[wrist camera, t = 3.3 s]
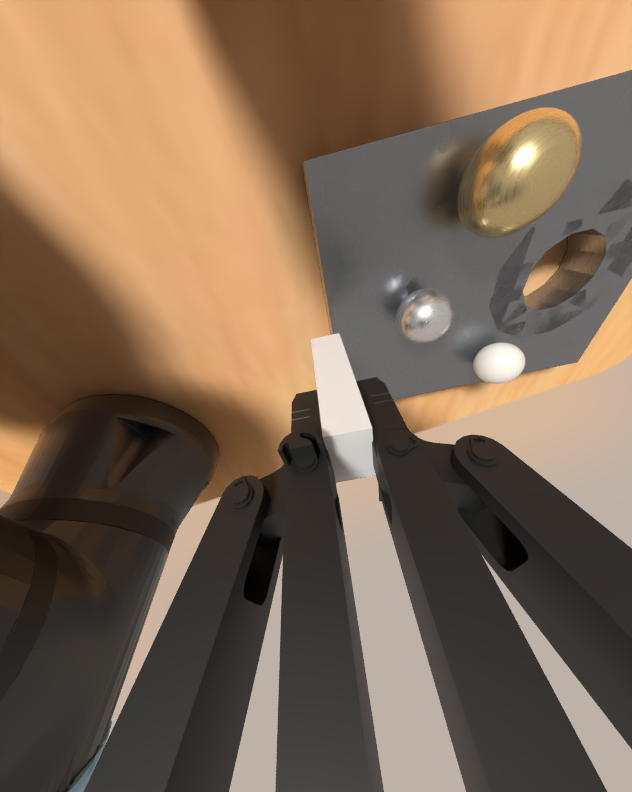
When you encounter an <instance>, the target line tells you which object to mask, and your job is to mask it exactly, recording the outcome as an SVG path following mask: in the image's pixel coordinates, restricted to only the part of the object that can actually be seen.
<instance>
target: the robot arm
mask: <svg viewBox="0 0 632 792" xmlns="http://www.w3.org/2000/svg"><path fill="white" fill-rule="evenodd" d="M311 344H312V352H313V360H314V369H315V377H316V385H317V390H314V391H309V392H304V393H299V394H296V396H295V398H294V400H293V402H292V428H291V433H290V434H289V435H287V436H286V437H285V438H284V439H283V440H282V442H281V443H280V445H279V449H278V452H279V454H280V456H281V458H282V460H283V462H284V465H283V466H282V467H281V468H280V469H279V470H277V471H275V472H274V473H272V474H270V475H268V476H266V477H264V478H262V479H260V480H259V479H258V478H257V477H254V476H251V475H250V476H243V477H241V478H239V479H237V480H235V481H233V482H232V483H231V484H230V485H229V486H228V487H227V488H226V490H225V492H224V493H223V495H222V497H221V499H220V501H219V503H218V505H217V507H216V510H215V512H214V514H213V516H212V518H211V520H210V522H209V525H208V527H207V529H206V531H205V533H204V535H203V537H202V539H201V542H200V544H199V546H198V548H197V551H196V552H195V554H194V557H193V559H192V561H191V563H190V565H189V567H188V569H187V572H186V574H185V576H184V578H183V580H182V582H181V585H180V587H179V589H178V591H177V593H176V595H175V597H174V599H173V602H172V604H171V606H170V608H169V610H168V613H167V615H166V617H165V619H164V621H163V623H162V625H161V627H160V629H159V631H158V634H157V636H156V638H155V640H154V642H153V644H152V646H151V649H150V651H149V653H148V655H147V657H146V659H145V662H144V664H143V666H142V668H141V670H140V672H139V674H138V677H137V679H136V681H135V683H134V685H133V687H132V689H131V692H130V694H129V696H128V698H127V700H126V702H125V705H124V706H123V709H122V711H121V713H120V715H119V717H118V719H117V721H116V724H115V726H114V728H113V730H112V732H111V734H110V736H109V738H108V735H109V732H110V728H111V723H112V721H111V718H112V715H113V712H114V709H115V706H116V703H117V701H118V698H119V695H120V692H121V689H122V686H123V684H124V681H125V678H126V675H127V672H128V669H129V666H130V663H131V661H132V657H133V655H134V652H135V649H136V646H137V643H138V640H139V638H140V635H141V632H142V629H143V626H144V623H145V620H146V617H147V614H148V612H149V609H150V606H151V603H152V600H153V597H154V594H155V592H156V589H157V586H158V583H159V580H160V577H161V574H162V572H163V568H164V566H165V563H166V560H167V557H168V554H169V551H170V548H171V545H172V543H173V540H174V537H175V534H176V532H177V529H178V527H179V526H180V524H181V522H182V521H183V519H184V518H185V516H186V515H187V513H188V512H189V510H190V509H191V507H192V506H193V504H194V503H195V501H196V499H197V498H198V496H199V495H200V493H201V491H202V490H203V489H205V488H206V486H207V485H208V484H209V483H210V481H211V479H212V477H213V475H214V472H215V469H216V465H217V462H218V458H219V449H218V446H217V443H216V441H215V439H214V438H213V436H212V435H211V434H210V432H209V431H208V430H207V429H206V428H205V427H204V426H203V425H202V424H200V423H199V422H198V421H196V420H195V419H193V418H192V417H190V416H189V415H187V414H185V413H183V412H181V411H179V410H177V409H175V408H173V407H171V406H168V405H165V404H163V403H160V402H156V401H153V400H149V399H145V398H140V397H134V396H127V395H98V396H92V397H87V398H83V399H80V400H78V401H75V402H73V403H72V404H70V405H68V406H67V407H66V408H65V409H64V410H63V411H61V412H60V413H59V414H58V415H57V416H56V417H55V418H54V419H53V420H51V421H50V422H49V423H48V424H47V426H46V427H45V428H44V429H43V431H42V432H41V434H40V437H39V439H38V441H37V443H36V445H35V447H34V449H33V451H32V453H31V455H30V457H29V460H28V462H27V464H26V466H25V468H24V470H23V472H22V474H21V476H20V479H19V481H18V483H17V485H16V487H15V489H14V491H13V493H12V495H11V497H10V498H9V500H8V501H7V502H6V503H5V504H4V505H3V507H1V508H0V792H229V788H230V784H231V780H232V775H233V771H234V767H235V762H236V758H237V753H238V749H239V745H240V740H241V736H242V731H243V727H244V723H245V718H246V714H247V709H248V705H249V700H250V696H251V692H252V687H253V683H254V678H255V674H256V670H257V665H258V661H259V656H260V652H261V648H262V643H263V639H264V635H265V630H266V626H267V621H268V617H269V613H270V608H271V604H272V599H273V595H274V591H275V586H276V582H277V578H278V573H279V569H280V564H281V560H282V556H283V577H282V607H281V641H280V672H279V702H278V703H279V704H278V735H277V766H276V792H384V791H383V784H382V777H381V770H380V764H379V758H378V751H377V744H376V738H375V732H374V725H373V719H372V712H371V706H370V699H369V693H368V686H367V680H366V673H365V666H364V659H363V653H362V646H361V640H360V633H359V627H358V621H357V614H356V607H355V601H354V594H353V588H352V581H351V575H350V568H349V561H348V555H347V549H346V542H345V536H344V529H343V522H342V516H341V509H340V503H339V497H338V494H337V489H336V482H342V481H348V480H353V479H359V478H365V477H371V476H375V473H376V477H377V480H378V484H379V501H382V503H383V507H384V510H385V514H386V517H387V521H388V524H389V527H390V531H391V534H392V538H393V541H394V545H395V548H396V552H397V555H398V558H399V562H400V565H401V569H402V572H403V576H404V579H405V582H406V586H407V589H408V593H409V596H410V599H411V603H412V607H413V610H414V613H415V617H416V620H417V623H418V627H419V631H420V634H421V637H422V641H423V644H424V648H425V651H426V655H427V658H428V661H429V665H430V668H431V672H432V675H433V679H434V682H435V686H436V689H437V692H438V696H439V699H440V703H441V706H442V709H443V713H444V716H445V720H446V723H447V727H448V730H449V734H450V737H451V741H452V743H453V747H454V751H455V754H456V758H457V761H458V765H459V768H460V771H461V774H462V778H463V782H464V785H465V789H466V792H607V790H606V789H605V787H604V785H603V783H602V781H601V779H600V777H599V775H598V774H597V772H596V770H595V768H594V766H593V764H592V762H591V760H590V759H589V757H588V755H587V753H586V751H585V749H584V747H583V745H582V744H581V741H580V740H579V738H578V736H577V734H576V732H575V730H574V728H573V726H572V725H571V723H570V721H569V719H568V717H567V715H566V713H565V711H564V709H563V708H562V706H561V704H560V702H559V700H558V698H557V696H556V694H555V693H554V691H553V689H552V687H551V685H550V683H549V681H548V680H547V677H546V676H545V674H544V672H543V670H542V668H541V666H540V664H539V663H538V661H537V659H536V657H535V655H534V653H533V651H532V649H531V647H530V646H529V644H528V642H527V640H526V638H525V636H524V634H523V632H522V631H521V629H520V627H519V625H518V623H517V621H516V619H515V617H514V615H513V614H512V612H511V610H510V608H509V606H508V604H507V602H506V600H505V599H504V597H503V595H502V593H501V591H500V589H499V587H498V585H497V584H496V581H495V580H494V578H493V576H492V574H491V572H490V570H489V568H488V566H487V565H486V563H485V561H484V559H483V557H482V555H483V556H484V558H485V559H486V561H487V562H488V563H489V565H490V566H491V567H492V568H493V570H494V571H495V572H496V573H497V575H498V576H499V578H500V579H501V580H502V581H503V583H504V584H505V585H506V587H507V588H508V589H509V590H510V592H511V593H512V594H513V596H514V597H515V598H516V600H517V601H518V602H519V603H520V605H521V606H522V607H523V609H524V610H525V611H526V612H527V614H528V615H529V616H530V618H531V619H532V620H533V622H534V623H535V624H536V625H537V627H538V628H539V629H540V631H541V632H542V633H543V635H544V636H545V637H546V638H547V640H548V641H549V642H550V644H551V645H552V646H553V648H554V649H555V650H556V651H557V653H558V654H559V655H560V657H561V658H562V659H563V661H564V662H565V663H566V664H567V665H568V667H569V668H570V669H571V671H572V672H573V674H574V675H575V676H576V677H577V679H578V680H579V681H580V682H581V684H582V685H583V686H584V688H585V689H586V690H587V692H588V693H589V694H590V696H591V697H592V698H593V699H594V701H595V702H596V703H597V705H598V706H599V707H600V709H601V710H602V711H603V712H604V714H605V715H606V716H607V717H608V719H609V720H610V722H611V723H612V724H613V725H614V727H615V728H616V729H617V731H618V732H619V733H620V734H621V736H622V737H623V738H624V740H625V741H626V742H627V744H628V745H629V746H630V747H631V749H632V549H631V548H630V547H629V546H627V545H626V544H625V543H624V542H623V541H622V540H620V539H619V538H618V537H616V536H615V535H614V534H613V533H611V532H610V531H609V530H608V529H607V528H605V527H604V526H603V525H601V524H600V523H599V522H598V521H596V520H595V519H594V518H593V517H592V516H590V515H589V514H588V513H587V512H585V511H584V510H583V509H582V508H580V507H579V506H578V505H577V504H575V503H574V502H573V501H572V500H570V499H569V498H568V497H567V496H565V495H564V494H563V493H562V492H560V491H559V490H558V489H557V488H556V487H554V486H553V485H552V484H551V483H549V482H548V481H547V480H546V479H544V478H543V477H542V476H541V475H539V474H538V473H537V472H535V471H534V470H533V469H532V468H531V467H529V466H528V465H527V464H525V463H524V462H523V461H522V460H520V459H519V458H518V457H517V456H516V455H514V454H513V453H512V452H511V451H509V450H508V449H507V448H505V447H504V446H503V445H502V444H500V443H498V442H497V441H495V440H493V439H491V438H488V437H484V436H479V435H469V436H464V437H462V438H460V439H459V440H457V441H456V444H455V445H452V444H441V443H432V442H427V441H424V440H422V439H420V438H418V437H417V436H415V435H414V434H412V433H411V432H410V431H409V429H408V428H407V426H406V424H405V422H404V420H403V418H402V416H401V414H400V412H399V410H398V408H397V407H396V405H395V403H394V401H393V399H392V397H391V395H390V394H389V391H388V389H387V387H386V385H385V383H384V382H382V381H381V380H380V379H378V378H377V377H374V378H369V379H364V380H359V381H356V380H355V377H354V374H353V371H352V368H351V365H350V362H349V360H348V357H347V354H346V351H345V348H344V345H343V342H342V340H341V337H340V334H339V333H337V334H333V335H328V336H323V337H319V338H314V339H311ZM481 554H482V555H481ZM107 738H108V741H107ZM106 741H107V743H106ZM105 743H106V745H105ZM104 746H105V747H104ZM100 754H101V756H100ZM99 757H100V758H99ZM98 759H99V760H98ZM95 765H96V766H95ZM94 767H95V768H94ZM93 770H94V771H93ZM92 772H93V773H92Z"/></svg>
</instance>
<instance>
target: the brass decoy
mask: <svg viewBox="0 0 632 792" xmlns="http://www.w3.org/2000/svg"><path fill="white" fill-rule="evenodd" d="M581 150H582V135H581V131H580V128H579V125H578V123H577V122H576V120H575V119H574V118H573V117H572V116H571V115H570V114H569V113H567V112H566V111H564V110H561V109H557V108H538V109H533V110H530V111H527V112H524V113H522V114H520V115H518V116H516V117H514V118H512V119H510V120H509V121H507V122H506V123H504V124H503V125H502V126H500V127H499V128H498V129H497V130H495V131H494V132H493V133H492V134H491V135H490V136H489V137H488V138H487V139H486V140H485V141H484V142H483V143H482V145H481V146H480V147H479V148H478V149H477V151H476V152H475V154H474V155H473V157H472V158H471V160H470V162H469V163H468V165H467V167H466V169H465V171H464V173H463V176H462V178H461V181H460V184H459V188H458V193H457V211H458V215H459V218H460V221H461V222H462V224H463V225H464V227H465V228H466V229H467V230H468V231H469V232H471V233H472V234H474V235H477V236H479V237H484V238H498V237H504V236H507V235H511V234H513V233H516V232H518V231H520V230H522V229H524V228H526V227H528V226H529V225H531V224H532V223H534V222H535V221H537V220H538V219H539V218H540V217H542V216H543V215H544V214H545V213H546V212H547V211H548V210H549V209H551V207H552V206H553V205H554V204H555V203H556V202H557V201H558V199H559V198H560V197H561V196H562V194H563V193H564V192H565V190H566V189H567V187H568V186H569V184H570V182H571V180H572V178H573V176H574V174H575V172H576V170H577V167H578V164H579V161H580V157H581Z"/></svg>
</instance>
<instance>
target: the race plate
mask: <svg viewBox="0 0 632 792" xmlns="http://www.w3.org/2000/svg"><path fill="white" fill-rule="evenodd" d="M538 108H557V109H561V110H564V111H566V112H567V113H569V114H570V115H571V116H572V117H573V118H574V119H575V120H576V122H577V123H578V125H579V128H580V131H581V135H582V150H581V157H580V161H579V164H578V167H577V170H576V172H575V174H574V176H573V178H572V180H571V182H570V184H569V186H568V187H567V189H566V190H565V192H564V193H563V194H562V196H561V197H560V198H559V199H558V201H557V202H556V203H555V204H554V205H553V206H552V207H551V209H549V210H548V211H547V212H546V213H545V214H544V215H543V216H542V217H540V218H539V219H538V220H537V221H535V222H534V223H532V224H531V225H529V226H528V227H526V228H524V229H522V230H520V231H518V232H516V233H513V234H511V235H507V236H504V237H498V238H484V237H479V236H477V235H474V234H472V233H471V232H469V231H468V230H467V229H466V228H465V227H464V225H463V224H462V222H461V221H460V218H459V215H458V211H457V193H458V188H459V184H460V181H461V178H462V176H463V173H464V171H465V169H466V167H467V165H468V163H469V162H470V160H471V158H472V157H473V155H474V154H475V152H476V151H477V149H478V148H479V147H480V146H481V145H482V143H483V142H484V141H485V140H486V139H487V138H488V137H489V136H490V135H491V134H492V133H493V132H494V131H495V130H497V129H498V128H499V127H500V126H502V125H503V124H504V123H506V122H507V121H509V120H510V119H512V118H514V117H516V116H518V115H520V114H522V113H524V112H527V111H530V110H533V109H538ZM303 174H304V180H305V186H306V192H307V198H308V203H309V209H310V215H311V221H312V227H313V233H314V239H315V245H316V251H317V257H318V262H319V268H320V274H321V280H322V286H323V292H324V298H325V304H326V310H327V316H328V321H329V327H330V333H331V335H333V334H337V333H339V334H340V337H341V340H342V342H343V345H344V348H345V351H346V354H347V357H348V360H349V362H350V365H351V368H352V371H353V374H354V377H355V380H356V381H359V380H364V379H369V378H374V377H377V378H378V379H380V380H381V381H382V382H384V383H385V385H386V387H387V389H388V391H389V394H390V395H391V397H392V399H398V398H403V397H408V396H413V395H418V394H423V393H428V392H433V391H438V390H443V389H448V388H453V387H457V386H462V385H467V384H472V383H477V382H482V381H483V380H482V379H480V378H479V377H478V376H477V375H476V373H475V372H474V369H473V361H474V358H475V356H476V355H477V353H478V352H479V351H480V350H481V349H482V348H484V347H486V346H488V345H490V344H493V343H509V344H513V345H515V346H517V347H518V348H519V349H520V350H521V351H522V352H523V354H524V356H525V367H524V369H523V371H522V372H521V374H522V373H527V372H532V371H536V370H541V369H546V368H551V367H556V366H561V365H566V364H571V363H576V362H578V361H579V359H580V357H581V356H582V354H583V353H584V351H585V350H586V348H587V347H588V345H589V344H590V342H591V340H592V339H593V337H594V336H595V334H596V333H597V331H598V330H599V328H600V326H601V325H602V323H603V322H604V320H605V319H606V317H607V316H608V314H609V313H610V311H611V309H612V308H613V306H614V305H615V303H616V302H617V300H618V299H619V297H620V295H621V294H622V292H623V291H624V289H625V288H626V286H627V285H628V283H629V282H630V280H631V278H632V70H630V71H627V72H623V73H620V74H616V75H612V76H609V77H605V78H602V79H598V80H594V81H591V82H587V83H583V84H580V85H576V86H573V87H569V88H565V89H562V90H558V91H555V92H551V93H547V94H544V95H540V96H537V97H533V98H529V99H526V100H522V101H518V102H515V103H511V104H508V105H504V106H500V107H497V108H493V109H490V110H486V111H482V112H479V113H475V114H472V115H468V116H464V117H461V118H457V119H454V120H450V121H446V122H443V123H439V124H435V125H432V126H428V127H425V128H421V129H417V130H414V131H410V132H407V133H403V134H399V135H396V136H392V137H389V138H385V139H381V140H378V141H374V142H370V143H367V144H363V145H360V146H356V147H352V148H349V149H345V150H342V151H338V152H334V153H331V154H327V155H324V156H320V157H316V158H313V159H309V160H306V161H304V164H303ZM566 237H567V241H568V250H567V252H566V254H565V257H564V259H563V261H562V263H561V266H560V268H559V269H558V270H557V271H556V272H555V273H554V275H553V276H552V277H551V278H550V279H549V280H548V281H547V283H546V284H545V285H543V286H542V287H540V288H539V289H537V290H536V291H534V292H532V293H531V294H529V295H528V296H523V289H524V286H525V284H526V281H527V278H528V276H529V273H530V271H531V270H532V269H533V267H534V266H535V265H536V264H537V263H538V261H539V260H540V259H541V258H542V256H543V255H544V254H545V253H546V252H547V250H549V249H550V248H552V247H553V246H554V245H556V244H557V243H559V242H560V241H562V240H563V239H564V238H566ZM423 288H436V289H439V290H441V291H443V292H444V293H446V294H447V295H448V296H449V297H450V299H451V300H452V303H453V306H454V318H453V321H452V324H451V326H450V327H449V329H448V330H447V332H446V333H445V334H444V335H442V336H441V337H440V338H438V339H437V340H435V341H432V342H429V343H424V344H418V343H413V342H410V341H408V340H406V339H405V338H404V337H403V336H402V335H401V334H400V333H399V331H398V329H397V326H396V314H397V310H398V308H399V306H400V304H401V302H402V301H403V300H404V299H405V298H406V297H407V296H408V295H409V294H411V293H412V292H414V291H416V290H419V289H423Z"/></svg>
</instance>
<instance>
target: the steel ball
mask: <svg viewBox="0 0 632 792" xmlns="http://www.w3.org/2000/svg"><path fill="white" fill-rule="evenodd" d="M453 318H454V306H453V303H452V300H451V299H450V297H449V296H448V295H447V294H446V293H444V292H443V291H441V290H439V289H436V288H423V289H419V290H416V291H414V292H412V293H411V294H409V295H408V296H407V297H406V298H405V299H404V300H403V301H402V302H401V304H400V306H399V308H398V310H397V314H396V326H397V329H398V331H399V333H400V334H401V335H402V336H403V337H404V338H405V339H406V340H408V341H410V342H413V343H418V344H424V343H429V342H432V341H435V340H437V339H438V338H440V337H441V336H442V335H444V334H445V333H446V332H447V330H448V329H449V327H450V326H451V324H452V321H453Z"/></svg>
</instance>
